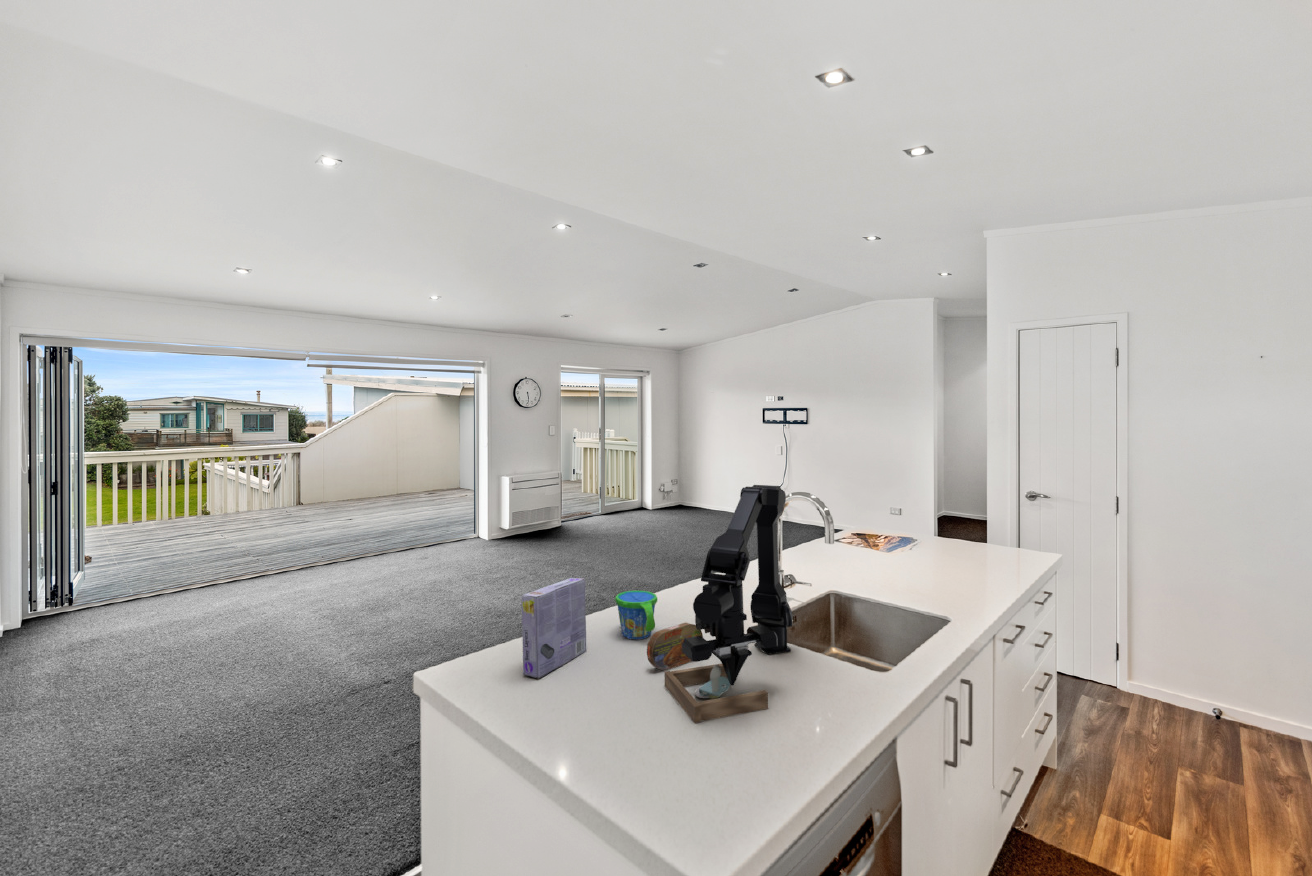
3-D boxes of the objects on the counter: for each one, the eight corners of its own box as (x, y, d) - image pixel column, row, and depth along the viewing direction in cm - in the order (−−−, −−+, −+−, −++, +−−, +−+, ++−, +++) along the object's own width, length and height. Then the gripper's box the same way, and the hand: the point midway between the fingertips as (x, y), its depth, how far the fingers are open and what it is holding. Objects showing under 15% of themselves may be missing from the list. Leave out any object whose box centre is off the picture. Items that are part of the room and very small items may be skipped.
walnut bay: (731, 675, 125) (730, 661, 125) (768, 709, 110) (768, 693, 110) (664, 686, 120) (664, 671, 120) (694, 723, 105) (694, 706, 105)
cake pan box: (573, 646, 143) (572, 574, 142) (590, 649, 140) (589, 576, 140) (520, 676, 126) (519, 594, 125) (538, 680, 123) (537, 598, 123)
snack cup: (667, 642, 144) (667, 601, 144) (627, 649, 140) (627, 607, 140) (644, 623, 159) (644, 586, 159) (607, 628, 155) (607, 590, 155)
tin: (653, 675, 126) (653, 636, 126) (644, 670, 128) (644, 632, 128) (704, 657, 135) (704, 621, 135) (695, 653, 138) (695, 617, 137)
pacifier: (688, 698, 115) (714, 705, 112) (686, 667, 115) (712, 673, 111) (708, 684, 121) (733, 690, 117) (706, 654, 121) (731, 659, 117)
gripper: (750, 590, 127) (752, 661, 127) (670, 602, 120) (673, 677, 121) (777, 605, 116) (780, 682, 116) (691, 619, 110) (694, 700, 110)
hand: (731, 684), depth 116 cm, fingers closed, pressing on pacifier
